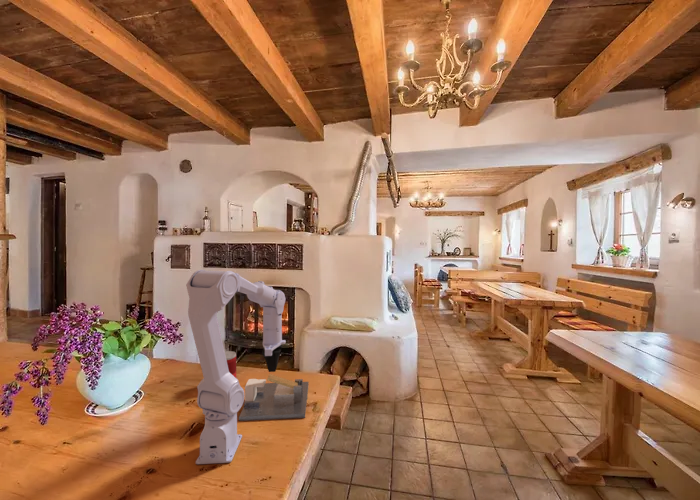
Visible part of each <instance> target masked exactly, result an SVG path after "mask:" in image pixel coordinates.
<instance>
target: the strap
mask: <svg viewBox="0 0 700 500" xmlns="http://www.w3.org/2000/svg"><path fill="white" fill-rule="evenodd" d="M266 381H268V382H270V383H277V384H281V385H284V386H287V387H290V388H293V389H294V386H300V383H297V382H295V380H294V381H293V380H289V379H287V378H283V377H280V376H278V375H275V374H271V373H269V374H268V377H267V379H266Z"/></svg>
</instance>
